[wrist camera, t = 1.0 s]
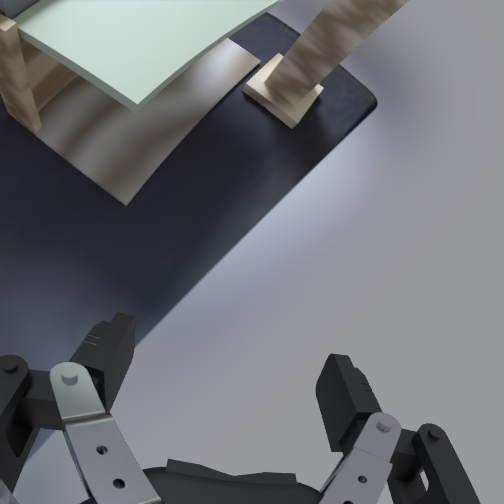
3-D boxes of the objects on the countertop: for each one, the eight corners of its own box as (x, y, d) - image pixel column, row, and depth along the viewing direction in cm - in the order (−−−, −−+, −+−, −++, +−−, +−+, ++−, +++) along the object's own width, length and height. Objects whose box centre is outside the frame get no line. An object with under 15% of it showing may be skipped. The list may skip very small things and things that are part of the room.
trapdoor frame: (8, 113, 25) (-26, 12, 11) (158, 0, 34) (187, -83, 20) (126, 206, 29) (137, 118, 15) (259, 63, 38) (318, -16, 24)
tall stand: (219, 112, 35) (404, -121, 6) (273, 59, 40) (420, -101, 11) (273, 154, 36) (507, -32, 7) (317, 93, 41) (484, -45, 12)
